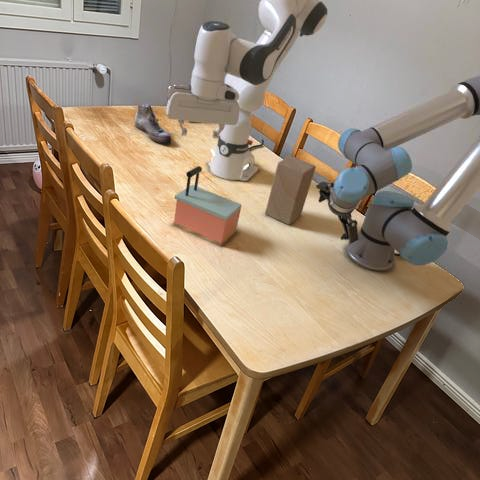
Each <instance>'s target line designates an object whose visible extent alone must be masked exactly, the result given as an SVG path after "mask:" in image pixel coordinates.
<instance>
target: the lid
mask: <svg viewBox="0 0 480 480" xmlns="http://www.w3.org/2000/svg"><path fill="white" fill-rule="evenodd" d="M202 171H203V168H202V166H199V165H198V166H196V167H193V168H192V169H189V170H188V171H186V177H187V181H186V188H184V189H183V190H181V191H179V192H178V193H176V194H175V195H174V200H176V201H177V200H179V201H181V202H183V203H186V204H188V205H191V206H193V207H195V208H198V209H200V210H202V211H205V212H207V213H210V214H212V215H214V216H217V217H219V218H221V219H224V220H227V219H228V218H229V217H231V216H232V215H233V214H234V213H235V212H237V211H238V210H239V209H240V208H241V209H242V206H243V205H242V204H241V203H239V202H236V201H235V200H232V199H230V198H226V197H224V196H222V195H219V194H217V193H214V192H213V191H209V190H207V189H205V188H202V187H200V186H199V178H200V173H201V172H202ZM194 176H195V179H194V180H195V181H194V184H191V180H192V179H191V178H193V177H194Z"/></svg>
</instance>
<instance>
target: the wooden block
mask: <svg viewBox="0 0 480 480" xmlns="http://www.w3.org/2000/svg"><path fill="white" fill-rule="evenodd" d="M316 168H317V166H316V165H315V164H313V163H310V162H308V161H305V160H302V159H300V158H297V157H295V156H292V155H289V156H288V157H286V158H284V159H282V160H280V161H278V162H277V165H276V169H275V172H274V177H273V180H272V185H271V189H270V192H269V197H268V200H267V204H266V208H265V212H264V214H265V215H266V216H269V217H270V218H273V219H275V220H277V221H279V222H281V223H283V224H285V225H287V226H290V225H291V224H293V223H294V222H295V221H296V220H298V218H300V217H301V216H302V213H303V210H304V207H305V204H306V200H307V196H308V193H309V191H310V187H311V184H312V182H313V178H314V175H315V171H316Z"/></svg>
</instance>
